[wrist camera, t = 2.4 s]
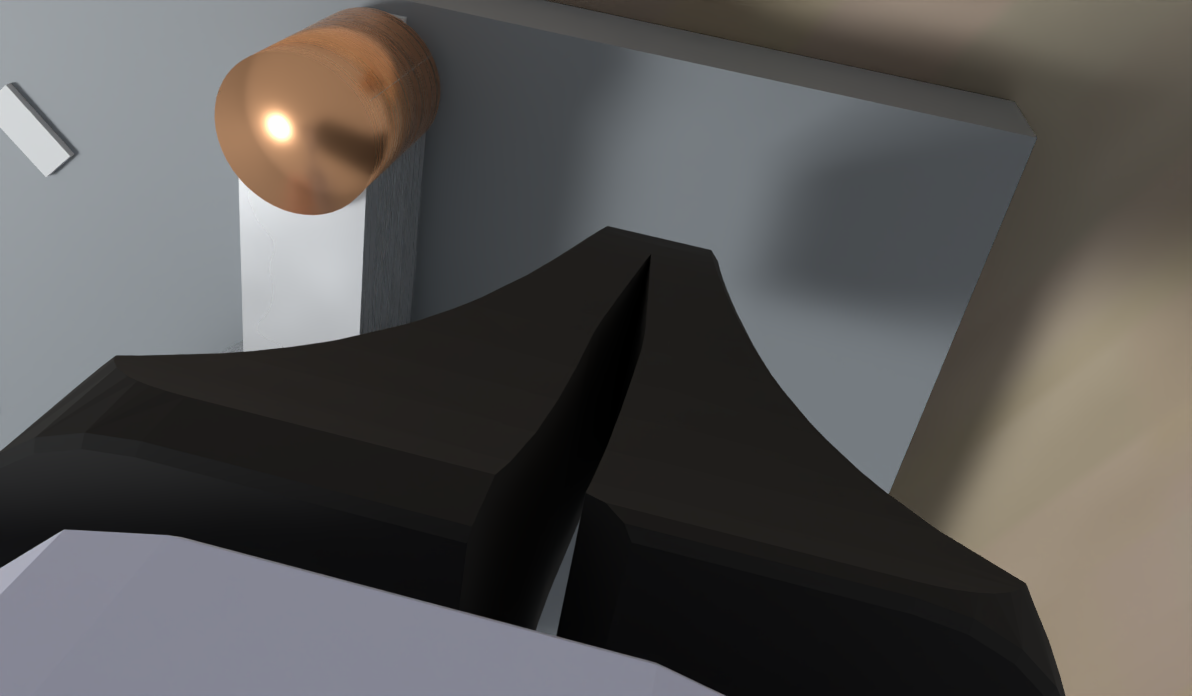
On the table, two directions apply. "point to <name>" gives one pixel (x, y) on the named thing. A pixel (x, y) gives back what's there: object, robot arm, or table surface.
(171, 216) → the dial board
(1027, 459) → the table surface
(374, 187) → the dial
